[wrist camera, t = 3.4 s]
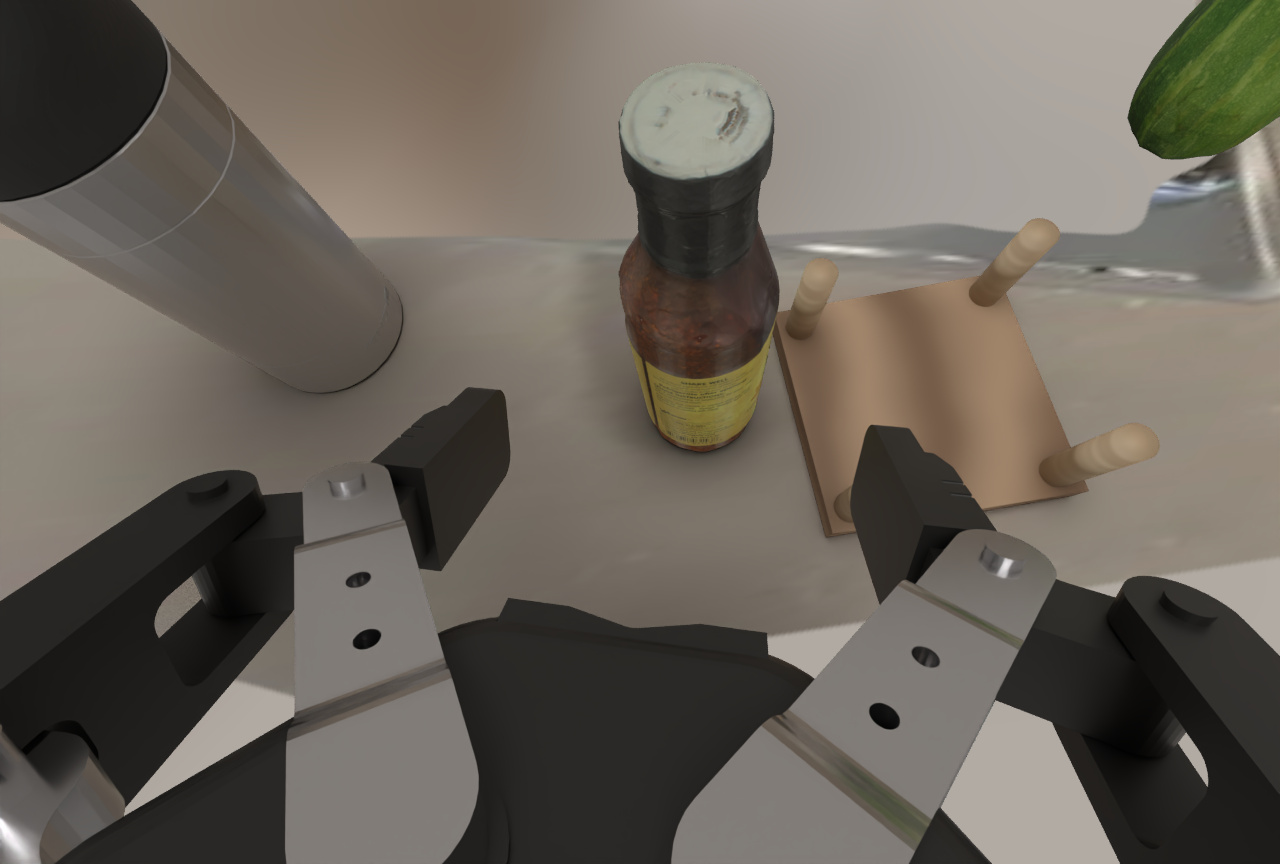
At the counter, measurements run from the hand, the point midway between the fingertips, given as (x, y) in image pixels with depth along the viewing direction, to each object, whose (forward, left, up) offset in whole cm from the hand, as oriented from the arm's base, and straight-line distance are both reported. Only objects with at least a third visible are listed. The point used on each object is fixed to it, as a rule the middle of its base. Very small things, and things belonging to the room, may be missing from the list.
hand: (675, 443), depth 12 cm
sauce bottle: (0, +8, -19) cm, 21 cm away
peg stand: (+12, +9, -19) cm, 24 cm away
